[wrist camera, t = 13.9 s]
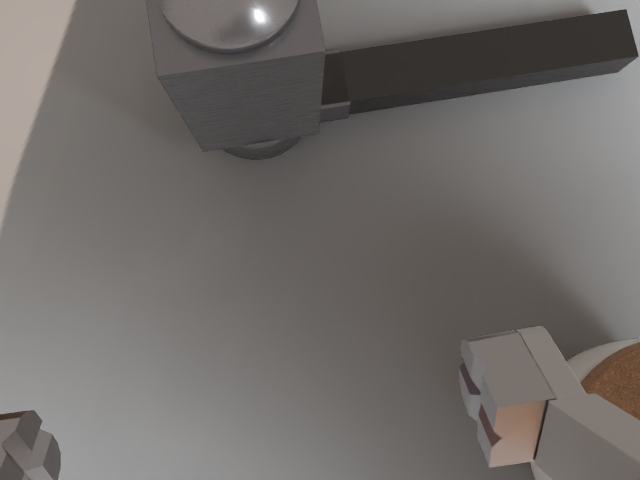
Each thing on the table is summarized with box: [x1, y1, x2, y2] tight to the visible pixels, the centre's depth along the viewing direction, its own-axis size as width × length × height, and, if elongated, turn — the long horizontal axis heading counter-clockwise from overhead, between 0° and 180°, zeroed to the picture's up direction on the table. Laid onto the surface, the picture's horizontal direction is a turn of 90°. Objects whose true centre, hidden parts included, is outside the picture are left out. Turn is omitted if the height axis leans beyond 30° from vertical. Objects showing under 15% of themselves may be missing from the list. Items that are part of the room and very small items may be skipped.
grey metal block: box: [146, 0, 326, 152], centre depth 24 cm, size 6×6×10 cm
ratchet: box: [223, 9, 638, 159], centre depth 29 cm, size 24×6×5 cm, turn 100°
